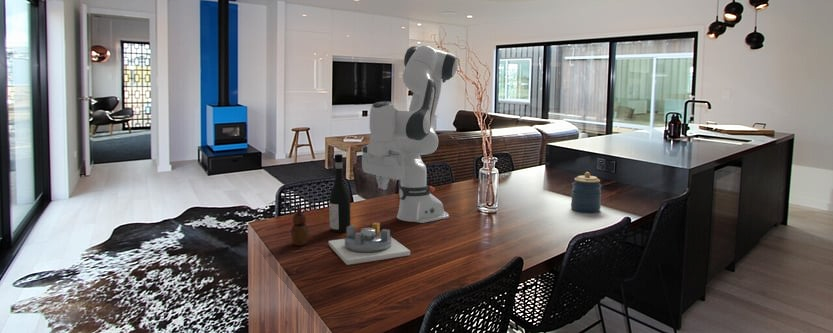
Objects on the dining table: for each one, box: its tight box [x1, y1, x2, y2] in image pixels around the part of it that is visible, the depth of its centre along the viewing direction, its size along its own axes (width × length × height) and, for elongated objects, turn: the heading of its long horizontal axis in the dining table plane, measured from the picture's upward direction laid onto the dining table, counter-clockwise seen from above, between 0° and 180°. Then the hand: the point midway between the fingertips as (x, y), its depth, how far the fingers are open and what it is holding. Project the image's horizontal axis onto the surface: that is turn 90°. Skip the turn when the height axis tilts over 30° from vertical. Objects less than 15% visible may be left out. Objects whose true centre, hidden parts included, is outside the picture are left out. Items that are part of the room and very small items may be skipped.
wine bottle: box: [328, 153, 351, 233], centre depth 192 cm, size 8×8×30 cm
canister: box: [570, 171, 603, 214], centre depth 226 cm, size 13×13×18 cm
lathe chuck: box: [344, 221, 392, 253], centre depth 170 cm, size 16×16×6 cm
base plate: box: [328, 236, 411, 266], centre depth 171 cm, size 22×22×2 cm
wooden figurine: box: [290, 202, 309, 247], centre depth 176 cm, size 7×6×15 cm
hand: (382, 188), depth 172 cm, fingers closed
